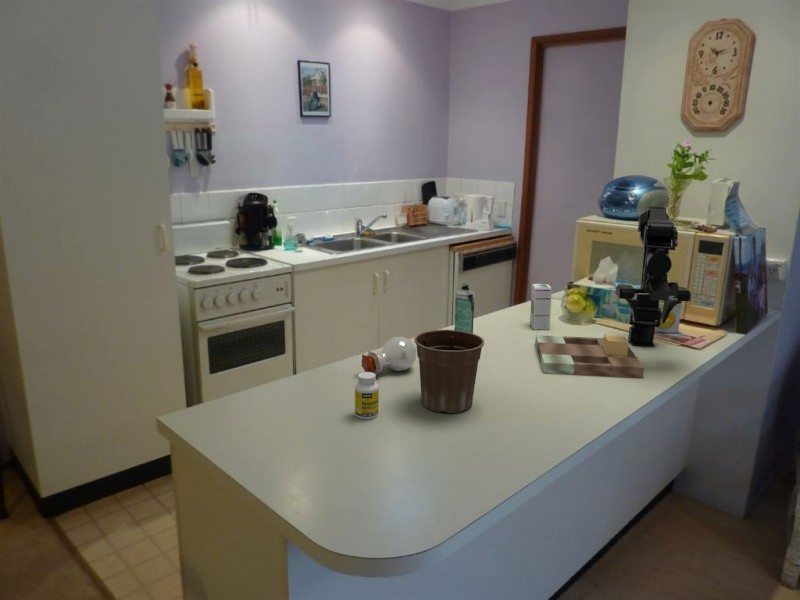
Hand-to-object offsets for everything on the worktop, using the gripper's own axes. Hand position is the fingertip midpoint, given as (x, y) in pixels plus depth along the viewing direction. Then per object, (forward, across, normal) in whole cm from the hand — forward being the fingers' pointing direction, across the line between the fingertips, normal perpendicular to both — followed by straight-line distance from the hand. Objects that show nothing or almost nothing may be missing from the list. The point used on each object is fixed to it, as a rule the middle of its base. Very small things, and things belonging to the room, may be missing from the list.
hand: (649, 322), depth 173 cm
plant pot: (+12, -54, -35) cm, 66 cm away
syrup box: (+12, -27, +30) cm, 42 cm away
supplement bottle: (+12, -72, -44) cm, 86 cm away
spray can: (+12, -51, +4) cm, 53 cm away
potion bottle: (+12, -70, -18) cm, 73 cm away
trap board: (+12, -16, 0) cm, 20 cm away
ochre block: (+9, -8, 0) cm, 12 cm away
